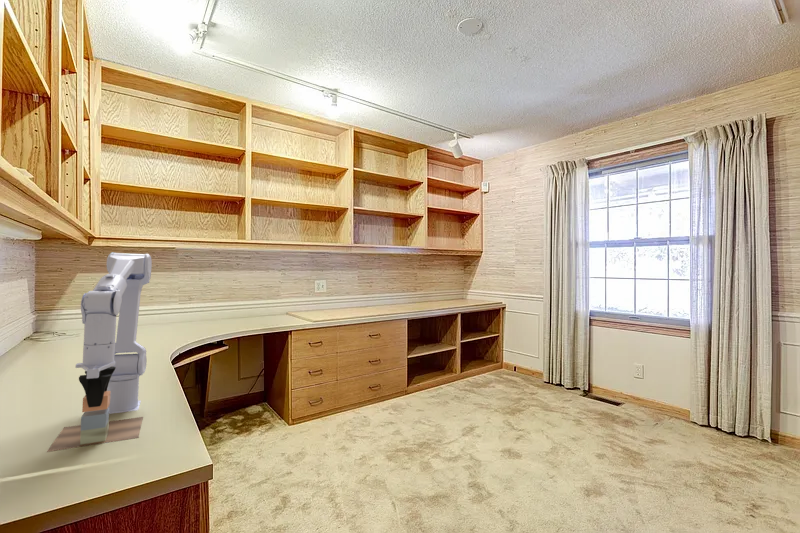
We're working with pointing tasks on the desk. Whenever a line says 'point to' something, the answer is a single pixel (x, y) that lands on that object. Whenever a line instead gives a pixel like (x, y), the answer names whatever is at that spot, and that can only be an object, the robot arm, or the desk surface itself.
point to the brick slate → (94, 419)
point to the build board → (113, 436)
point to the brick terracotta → (103, 406)
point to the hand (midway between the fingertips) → (96, 403)
